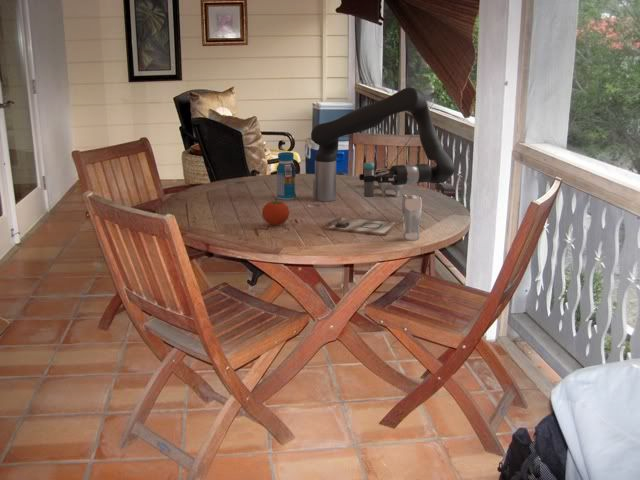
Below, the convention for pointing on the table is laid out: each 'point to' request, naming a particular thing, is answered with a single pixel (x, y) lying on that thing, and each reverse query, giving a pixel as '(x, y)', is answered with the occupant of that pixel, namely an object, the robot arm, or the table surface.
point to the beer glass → (411, 216)
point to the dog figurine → (391, 188)
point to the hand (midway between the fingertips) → (362, 178)
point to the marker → (368, 185)
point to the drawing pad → (360, 226)
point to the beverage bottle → (286, 176)
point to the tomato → (275, 213)
